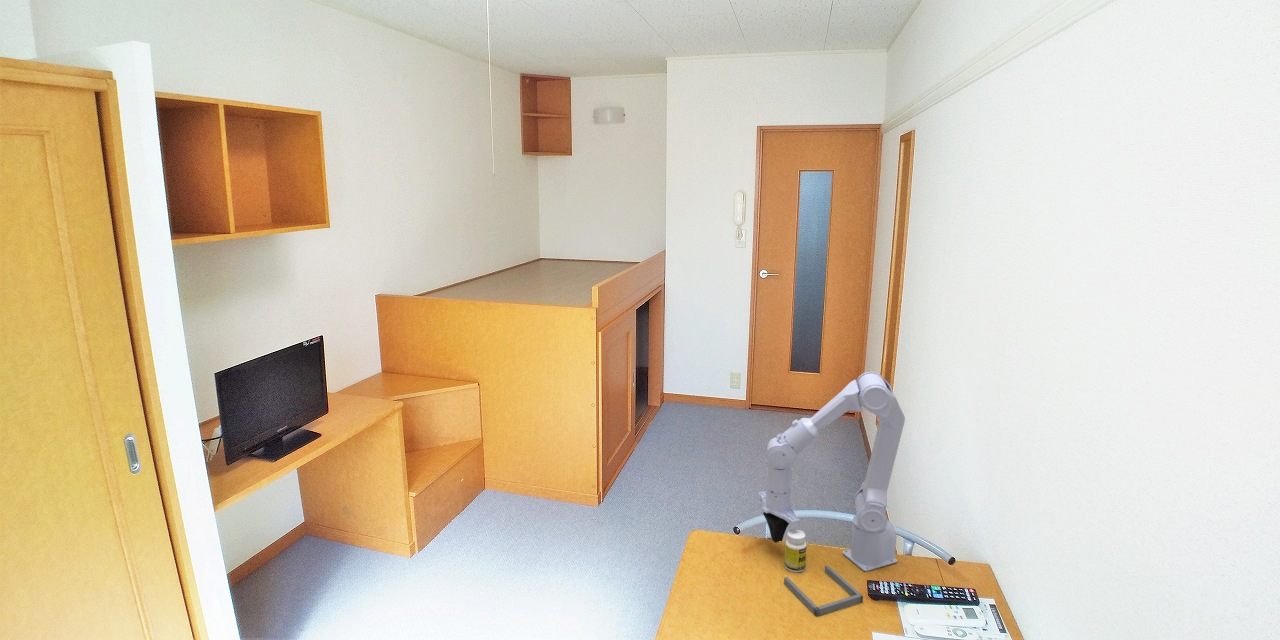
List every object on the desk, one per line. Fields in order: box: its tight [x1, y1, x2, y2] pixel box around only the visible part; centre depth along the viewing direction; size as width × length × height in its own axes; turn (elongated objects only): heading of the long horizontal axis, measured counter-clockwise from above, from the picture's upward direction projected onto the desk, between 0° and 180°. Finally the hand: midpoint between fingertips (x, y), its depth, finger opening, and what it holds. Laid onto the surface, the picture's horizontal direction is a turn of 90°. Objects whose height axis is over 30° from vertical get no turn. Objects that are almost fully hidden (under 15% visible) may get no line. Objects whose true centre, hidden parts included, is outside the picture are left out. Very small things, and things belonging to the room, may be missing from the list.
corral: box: [783, 564, 864, 618], centre depth 135 cm, size 12×12×2 cm
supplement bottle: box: [783, 528, 808, 573], centre depth 144 cm, size 5×5×8 cm
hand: (777, 540), depth 151 cm, fingers closed
